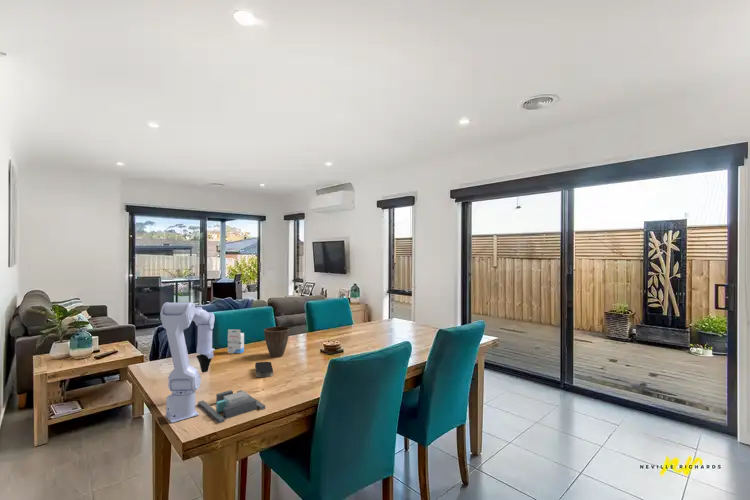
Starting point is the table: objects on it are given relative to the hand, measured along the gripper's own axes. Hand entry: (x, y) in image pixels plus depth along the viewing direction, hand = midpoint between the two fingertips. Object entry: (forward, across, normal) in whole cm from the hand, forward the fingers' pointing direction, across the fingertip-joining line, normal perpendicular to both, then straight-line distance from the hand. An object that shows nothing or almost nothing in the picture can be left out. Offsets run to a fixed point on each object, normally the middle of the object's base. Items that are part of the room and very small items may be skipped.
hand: (204, 371), depth 155 cm
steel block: (+10, -23, -4) cm, 26 cm away
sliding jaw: (+10, -16, -4) cm, 19 cm away
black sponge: (+11, +11, -33) cm, 37 cm away
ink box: (+11, +57, -38) cm, 69 cm away
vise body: (+10, -18, -4) cm, 22 cm away
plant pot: (+11, +34, -53) cm, 64 cm away
